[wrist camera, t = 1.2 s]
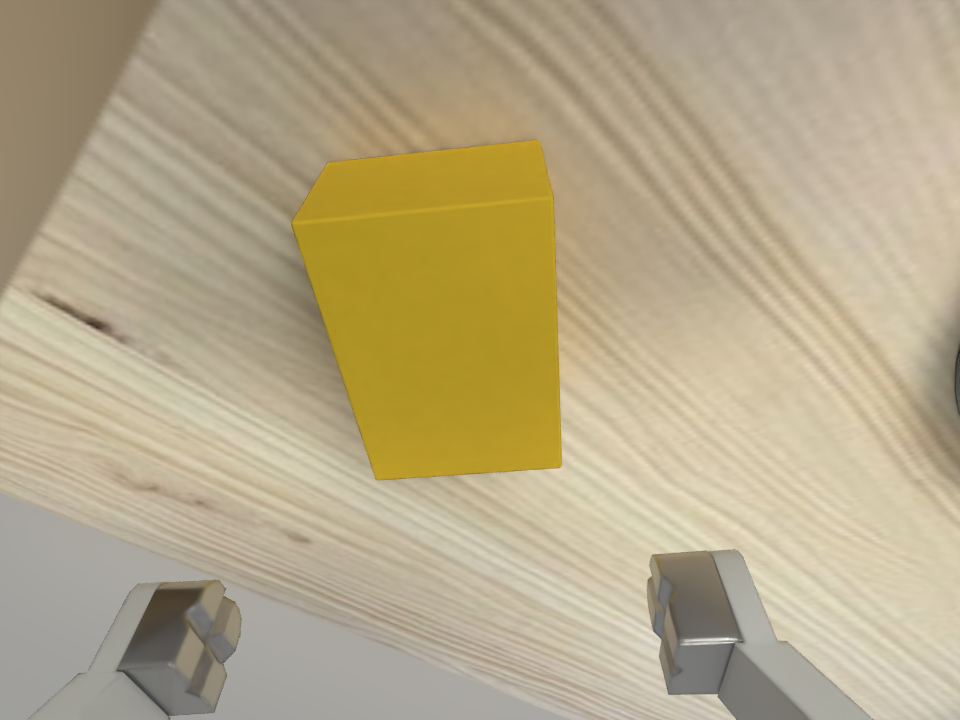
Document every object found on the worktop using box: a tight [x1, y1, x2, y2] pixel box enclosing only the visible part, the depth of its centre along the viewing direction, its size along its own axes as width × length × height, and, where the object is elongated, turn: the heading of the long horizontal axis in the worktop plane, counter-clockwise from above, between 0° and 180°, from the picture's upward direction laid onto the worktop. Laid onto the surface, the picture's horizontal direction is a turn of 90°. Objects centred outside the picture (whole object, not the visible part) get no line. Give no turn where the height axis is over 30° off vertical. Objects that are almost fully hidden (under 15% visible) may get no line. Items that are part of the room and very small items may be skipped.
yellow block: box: [291, 140, 562, 480], centre depth 17 cm, size 9×6×4 cm, turn 6°
